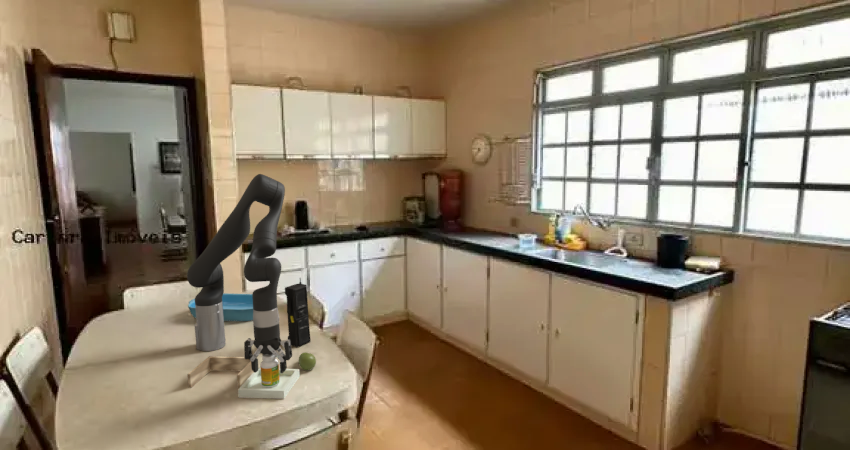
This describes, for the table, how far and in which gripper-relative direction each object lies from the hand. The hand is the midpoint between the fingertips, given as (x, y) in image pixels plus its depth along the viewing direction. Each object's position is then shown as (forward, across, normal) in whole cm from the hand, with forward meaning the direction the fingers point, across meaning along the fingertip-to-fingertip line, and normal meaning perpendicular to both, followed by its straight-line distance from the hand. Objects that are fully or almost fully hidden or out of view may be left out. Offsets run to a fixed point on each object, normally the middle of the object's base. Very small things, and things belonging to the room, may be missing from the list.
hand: (269, 371), depth 146 cm
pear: (+5, +7, +14) cm, 17 cm away
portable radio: (+5, -2, +33) cm, 33 cm away
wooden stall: (+5, -17, +4) cm, 18 cm away
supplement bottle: (+4, 0, 0) cm, 4 cm away
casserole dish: (+5, -43, +64) cm, 77 cm away
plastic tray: (+5, 0, 0) cm, 5 cm away
